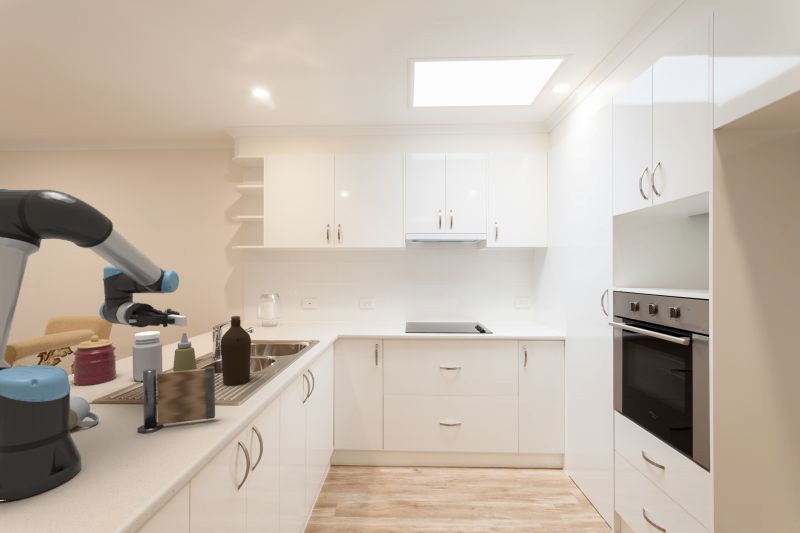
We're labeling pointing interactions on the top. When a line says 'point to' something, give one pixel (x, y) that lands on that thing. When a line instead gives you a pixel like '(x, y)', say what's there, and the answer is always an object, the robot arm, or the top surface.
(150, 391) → the gate post
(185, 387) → the gate
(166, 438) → the top surface
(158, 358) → the jar
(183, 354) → the squeeze bottle
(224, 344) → the olive oil
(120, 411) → the top surface
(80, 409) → the ceramic mug
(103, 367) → the canister
